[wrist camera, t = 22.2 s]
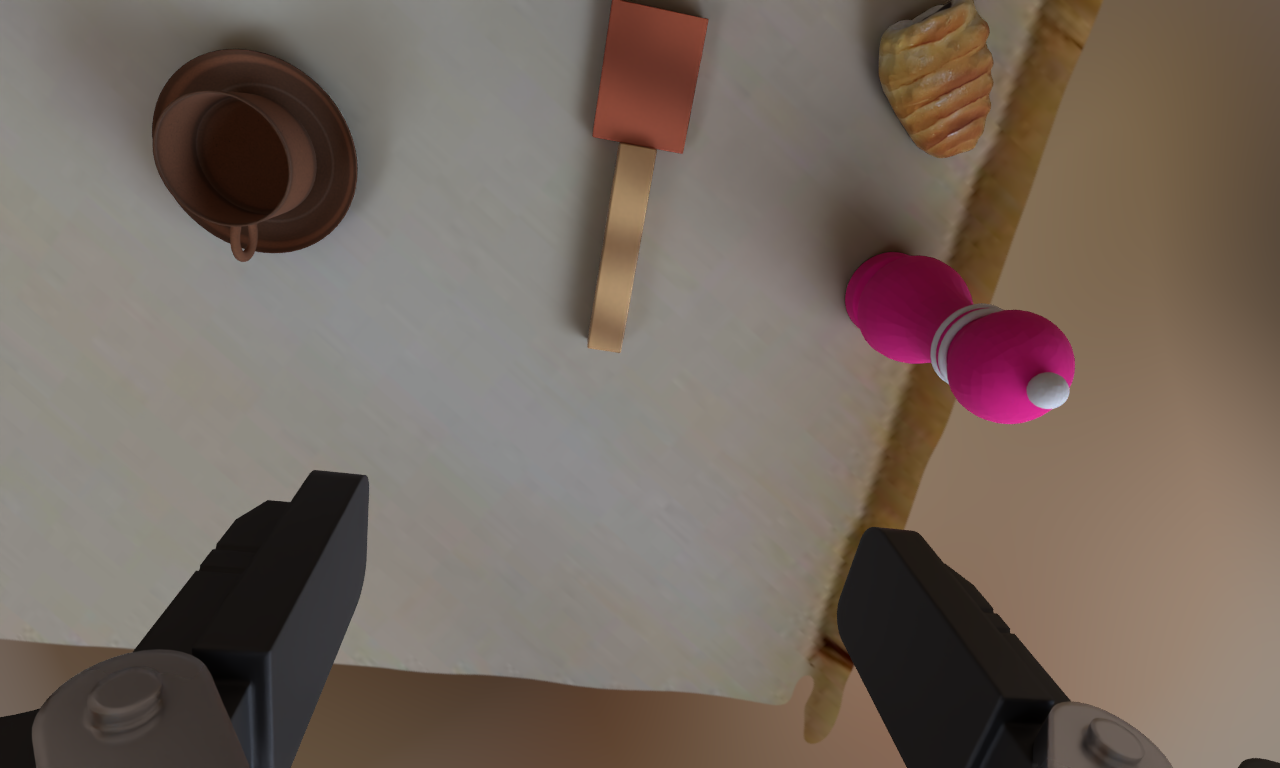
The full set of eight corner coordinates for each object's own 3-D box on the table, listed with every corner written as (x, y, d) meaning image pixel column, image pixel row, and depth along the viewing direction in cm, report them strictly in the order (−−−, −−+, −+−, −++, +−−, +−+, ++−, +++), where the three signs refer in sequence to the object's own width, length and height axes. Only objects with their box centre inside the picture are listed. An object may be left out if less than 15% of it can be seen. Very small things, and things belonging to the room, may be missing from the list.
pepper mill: (865, 357, 52) (1018, 491, 34) (820, 282, 50) (959, 382, 31) (949, 304, 51) (1155, 412, 33) (907, 224, 49) (1104, 292, 30)
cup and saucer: (389, 230, 46) (361, 247, 41) (215, 262, 46) (162, 283, 40) (330, 35, 42) (289, 23, 36) (136, 70, 42) (65, 63, 36)
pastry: (995, 130, 47) (1028, 132, 43) (903, 175, 47) (928, 180, 44) (959, -12, 43) (992, -22, 40) (860, 39, 44) (884, 33, 41)
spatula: (643, 348, 51) (645, 356, 49) (563, 336, 50) (562, 344, 48) (705, 21, 43) (711, 17, 41) (611, 1, 42) (612, -4, 40)
